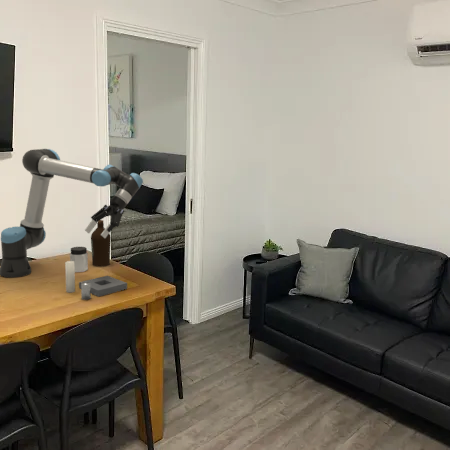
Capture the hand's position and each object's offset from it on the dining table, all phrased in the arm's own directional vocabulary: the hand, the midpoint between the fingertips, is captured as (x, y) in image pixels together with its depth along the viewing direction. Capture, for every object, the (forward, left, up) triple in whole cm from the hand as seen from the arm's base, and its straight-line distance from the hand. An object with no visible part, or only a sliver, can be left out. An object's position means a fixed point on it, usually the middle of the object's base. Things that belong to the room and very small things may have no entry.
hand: (94, 234), depth 228 cm
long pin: (0, -13, -25) cm, 29 cm away
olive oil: (-29, +23, -26) cm, 45 cm away
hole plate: (+7, 0, -25) cm, 26 cm away
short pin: (+13, -13, -25) cm, 31 cm away
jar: (-27, +8, -26) cm, 38 cm away
